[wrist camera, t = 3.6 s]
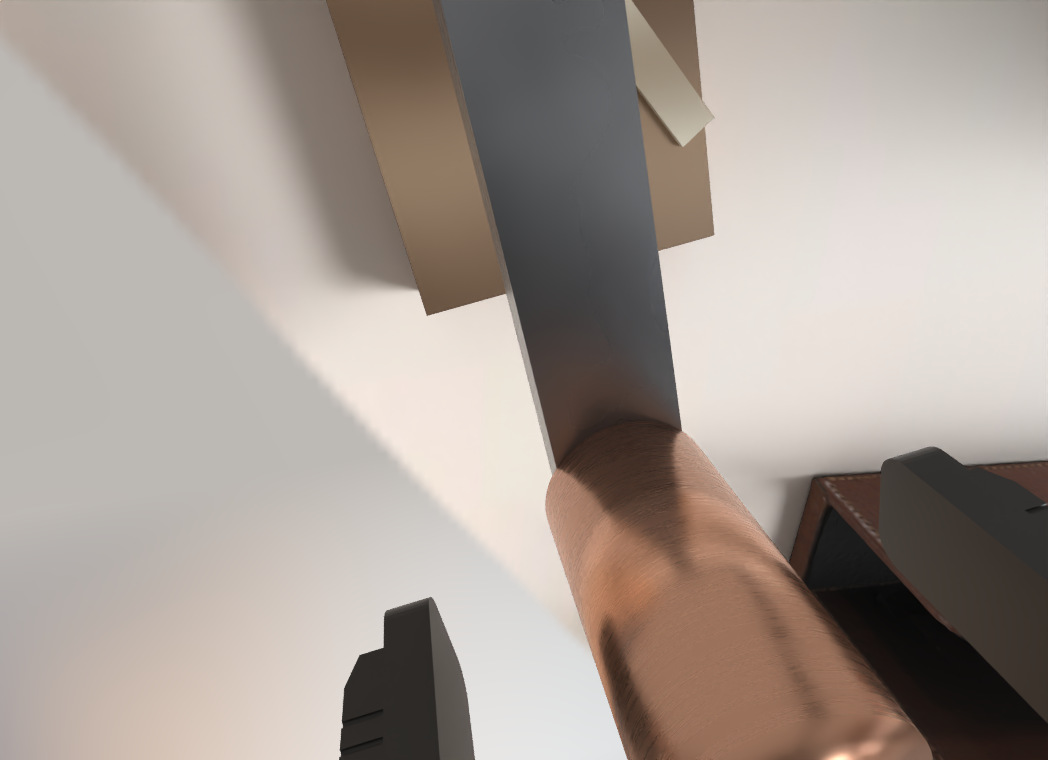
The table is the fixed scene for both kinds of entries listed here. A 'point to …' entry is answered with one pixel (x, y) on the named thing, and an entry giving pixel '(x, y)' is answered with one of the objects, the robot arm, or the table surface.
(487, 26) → the lever
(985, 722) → the letter holder
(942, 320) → the table surface
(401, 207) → the press bench
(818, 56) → the table surface
